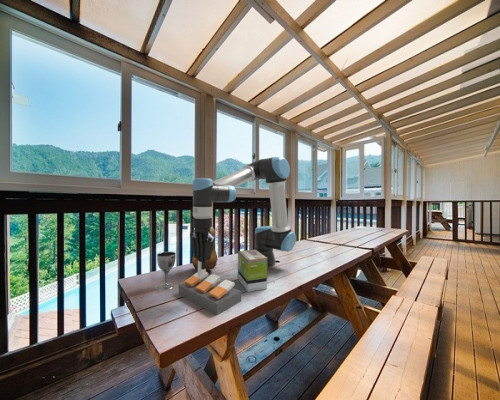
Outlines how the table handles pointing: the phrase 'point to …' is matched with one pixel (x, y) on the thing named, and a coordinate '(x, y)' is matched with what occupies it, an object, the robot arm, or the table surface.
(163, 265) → the wine glass
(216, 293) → the switch
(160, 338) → the table surface
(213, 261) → the butternut squash
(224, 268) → the table surface
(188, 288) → the power strip
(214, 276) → the switch middle
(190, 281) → the switch
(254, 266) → the tea box
